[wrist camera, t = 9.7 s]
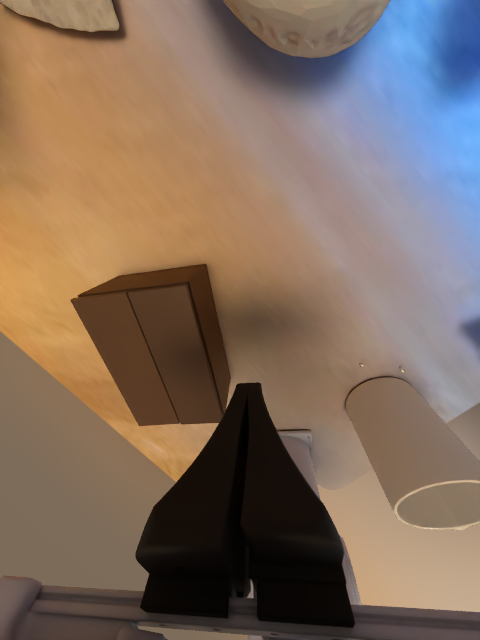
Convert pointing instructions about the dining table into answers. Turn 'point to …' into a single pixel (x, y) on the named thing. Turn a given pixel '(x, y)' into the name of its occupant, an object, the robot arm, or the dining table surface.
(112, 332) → the flap
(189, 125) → the dining table surface
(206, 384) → the carton
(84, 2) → the arrowhead
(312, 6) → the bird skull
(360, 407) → the mug
